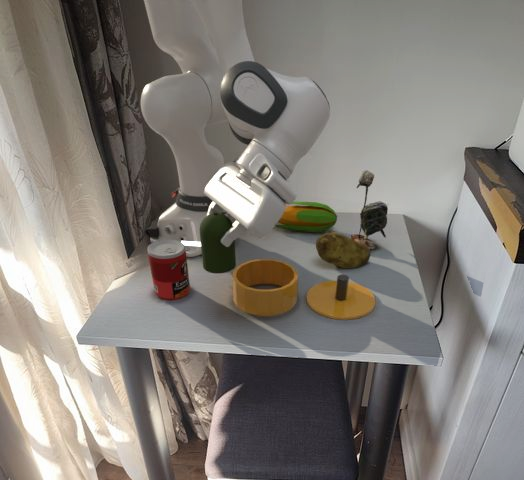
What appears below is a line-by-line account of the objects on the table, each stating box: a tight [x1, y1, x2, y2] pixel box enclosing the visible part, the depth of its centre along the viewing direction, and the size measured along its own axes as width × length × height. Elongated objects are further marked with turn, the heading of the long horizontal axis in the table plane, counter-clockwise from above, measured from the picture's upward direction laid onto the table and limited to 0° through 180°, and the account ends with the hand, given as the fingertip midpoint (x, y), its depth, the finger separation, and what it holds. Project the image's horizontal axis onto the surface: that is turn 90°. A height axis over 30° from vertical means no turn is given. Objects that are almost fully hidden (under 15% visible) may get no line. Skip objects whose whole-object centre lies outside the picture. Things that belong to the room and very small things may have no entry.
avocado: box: [200, 211, 237, 275], centre depth 85 cm, size 6×6×10 cm
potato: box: [315, 231, 371, 269], centre depth 110 cm, size 8×13×8 cm, turn 74°
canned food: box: [147, 240, 191, 301], centre depth 100 cm, size 8×8×11 cm
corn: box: [274, 200, 338, 233], centre depth 127 cm, size 7×8×20 cm
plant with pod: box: [348, 169, 389, 250], centre depth 114 cm, size 8×11×20 cm
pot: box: [231, 258, 299, 317], centre depth 99 cm, size 14×14×6 cm
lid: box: [305, 274, 376, 321], centre depth 98 cm, size 15×15×6 cm
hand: (214, 235), depth 84 cm, fingers closed on avocado, 6 cm apart
